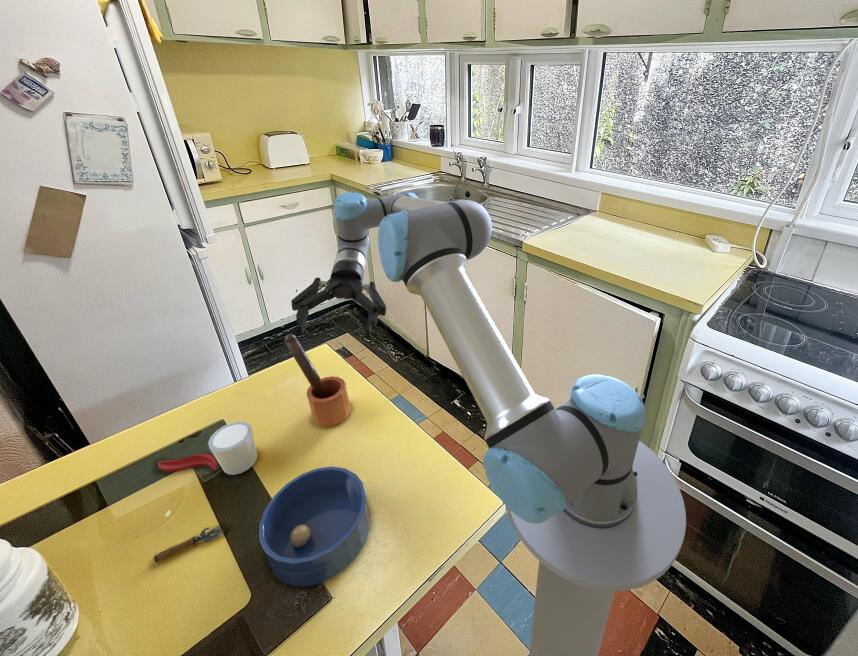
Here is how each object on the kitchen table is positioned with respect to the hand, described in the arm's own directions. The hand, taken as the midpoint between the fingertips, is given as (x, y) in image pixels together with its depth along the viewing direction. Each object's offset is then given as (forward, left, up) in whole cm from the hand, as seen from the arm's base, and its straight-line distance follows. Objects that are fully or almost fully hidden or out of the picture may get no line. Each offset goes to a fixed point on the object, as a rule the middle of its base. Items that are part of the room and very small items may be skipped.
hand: (334, 333), depth 87 cm
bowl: (-11, +31, -17) cm, 36 cm away
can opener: (+8, +36, -17) cm, 40 cm away
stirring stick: (0, +7, -16) cm, 17 cm away
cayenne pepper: (+20, +23, -17) cm, 34 cm away
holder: (0, +7, -17) cm, 18 cm away
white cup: (+11, +21, -17) cm, 29 cm away
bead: (-9, +33, -16) cm, 37 cm away
